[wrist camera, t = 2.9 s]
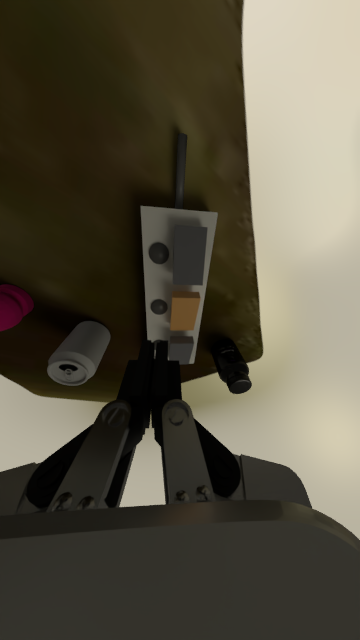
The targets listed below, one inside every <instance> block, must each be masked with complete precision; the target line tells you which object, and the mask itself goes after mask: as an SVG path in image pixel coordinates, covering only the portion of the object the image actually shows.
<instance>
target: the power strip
mask: <svg viewBox="0 0 360 640" xmlns="http://www.w3.org/2000/svg"><path fill="white" fill-rule="evenodd" d="M186 148H187V135H186V134H183V133H181V134H178V147H177V172H176V196H175V209H171V208H160V207H149V206H141V223H142V242H143V262H144V281H145V300H146V319H147V338H148V340H151V342H154V344H155V354H156V345H157V342H160V340H168V360H169V346H170V336H193V340H194V346H193V350H192V354H191V357H190V361H189V364H191V363H194V359H195V353H196V346H197V340H198V334H199V328H200V321H201V315H202V309H203V303H204V297H205V290H206V284H207V278H208V272H209V265H210V259H211V253H212V247H213V241H214V234H215V228H216V222H217V216H218V213H215V212H204V211H193V210H183V196H184V180H185V164H186ZM175 225H185V226H197V227H208V229H207V240H206V252H205V264H204V275H203V286H202V285H174V284H172V280H173V245H174V226H175ZM172 291H186V292H199V294H200V298H201V299H200V304H199V308H198V313H197V317H196V321H195V326H194V330H170V317H171V301H172Z"/></svg>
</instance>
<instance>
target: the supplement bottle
mask: <svg viewBox="0 0 360 640" xmlns="http://www.w3.org/2000/svg"><path fill="white" fill-rule="evenodd" d="M211 353H212V356H213V359H214V362H215V365H216V368H217V371H218V374H219V376H220V379H221V380H222V381H224V382H225V383H226V384H227V386H228V388H229V391H230V392H232V393H233V394H241V393H244V392H246V391H248V390H249V389H250V388H251V386H252V384H251V381H250V379H249V377H248V374H249V368H248V366H247V364H246V362H245V360H244V359H243V357H242V355H241V353H240V352H239V350H238V348H237V346H236V345H235V343H234V342H233V341H231V340H227V339H224V340H220V341H218V342H216V343H215V344H214V345H213V346H212V349H211Z"/></svg>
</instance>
